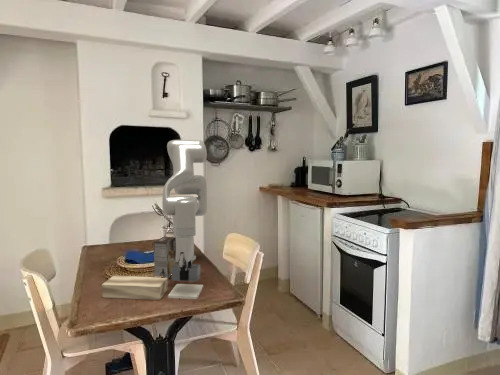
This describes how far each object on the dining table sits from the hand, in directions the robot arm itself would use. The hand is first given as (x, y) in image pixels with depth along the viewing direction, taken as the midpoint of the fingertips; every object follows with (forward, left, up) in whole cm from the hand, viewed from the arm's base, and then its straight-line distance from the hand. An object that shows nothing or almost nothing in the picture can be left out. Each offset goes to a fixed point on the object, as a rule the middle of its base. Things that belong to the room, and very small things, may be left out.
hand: (186, 276), depth 130 cm
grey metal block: (0, 0, -1) cm, 1 cm away
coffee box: (-17, -14, -7) cm, 23 cm away
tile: (0, 0, -6) cm, 6 cm away
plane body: (+3, -19, -6) cm, 20 cm away
